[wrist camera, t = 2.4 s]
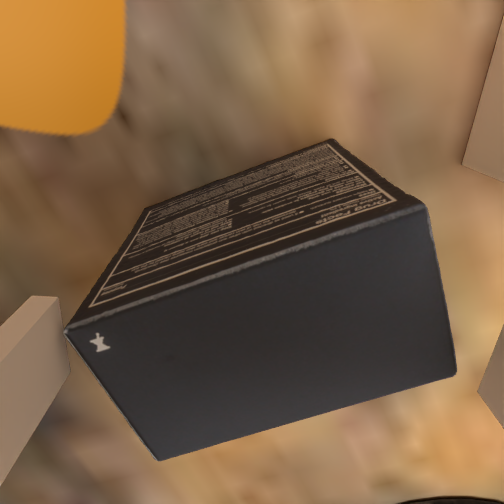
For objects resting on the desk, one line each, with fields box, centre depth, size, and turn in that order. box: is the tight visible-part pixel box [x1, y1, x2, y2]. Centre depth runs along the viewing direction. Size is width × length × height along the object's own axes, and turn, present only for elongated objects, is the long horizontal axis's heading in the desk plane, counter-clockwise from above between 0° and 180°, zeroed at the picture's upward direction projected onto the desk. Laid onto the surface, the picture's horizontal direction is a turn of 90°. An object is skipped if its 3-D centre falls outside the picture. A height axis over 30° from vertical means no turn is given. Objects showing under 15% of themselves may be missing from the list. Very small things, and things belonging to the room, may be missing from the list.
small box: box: [63, 139, 457, 461], centre depth 16 cm, size 11×6×10 cm, turn 111°
